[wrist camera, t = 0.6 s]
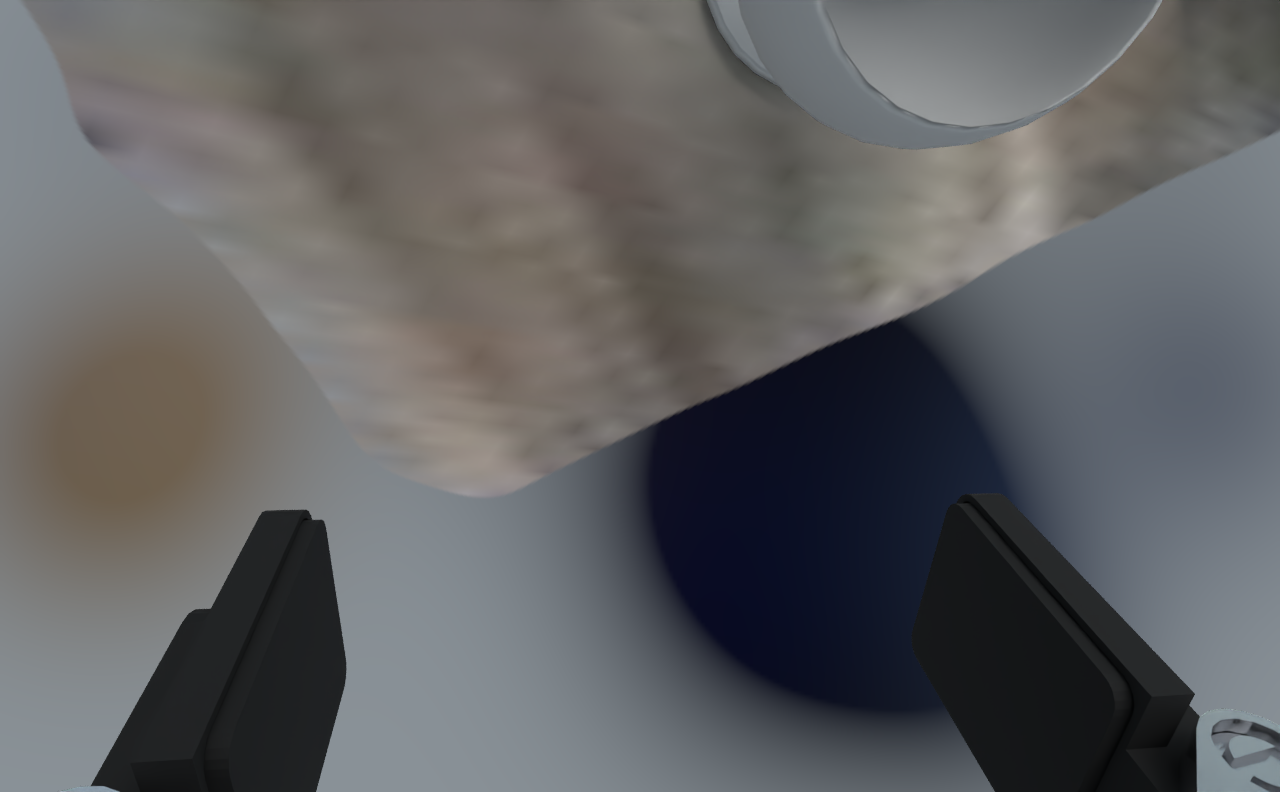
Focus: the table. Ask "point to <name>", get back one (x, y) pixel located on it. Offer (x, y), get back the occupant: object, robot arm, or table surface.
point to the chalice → (930, 60)
